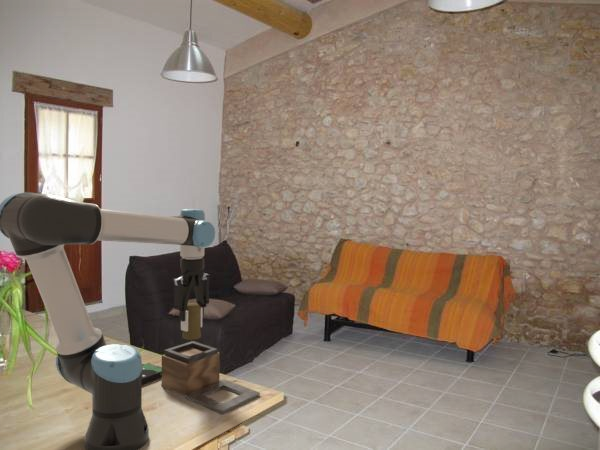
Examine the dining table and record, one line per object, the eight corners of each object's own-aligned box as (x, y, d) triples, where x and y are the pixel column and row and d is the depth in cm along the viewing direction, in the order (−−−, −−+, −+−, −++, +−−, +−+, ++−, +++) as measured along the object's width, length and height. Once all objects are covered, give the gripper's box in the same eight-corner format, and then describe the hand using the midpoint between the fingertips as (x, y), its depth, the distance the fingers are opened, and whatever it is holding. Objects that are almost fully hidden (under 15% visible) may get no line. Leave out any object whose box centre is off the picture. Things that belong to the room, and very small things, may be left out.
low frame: (222, 414, 140) (222, 410, 140) (185, 398, 149) (185, 394, 149) (259, 395, 153) (259, 392, 152) (223, 381, 162) (223, 378, 162)
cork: (190, 341, 154) (190, 306, 153) (178, 336, 158) (178, 303, 157) (205, 336, 159) (205, 303, 158) (192, 332, 163) (193, 300, 162)
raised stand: (186, 396, 151) (186, 359, 150) (161, 385, 158) (161, 350, 157) (219, 382, 162) (219, 348, 161) (195, 372, 169) (195, 340, 168)
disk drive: (130, 391, 154) (167, 376, 166) (130, 383, 154) (167, 368, 166) (110, 383, 160) (147, 369, 172) (110, 375, 160) (147, 361, 172)
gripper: (177, 262, 147) (176, 337, 149) (221, 255, 161) (220, 324, 163) (161, 259, 151) (161, 332, 153) (206, 253, 166) (205, 320, 168)
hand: (191, 328), depth 158 cm, fingers closed on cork, 5 cm apart
